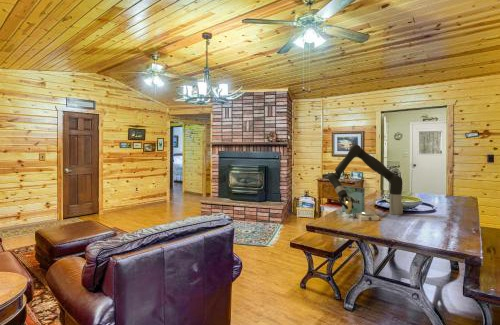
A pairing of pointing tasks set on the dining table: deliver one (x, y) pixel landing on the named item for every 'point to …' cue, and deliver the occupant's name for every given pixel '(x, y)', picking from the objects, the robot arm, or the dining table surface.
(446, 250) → the dining table surface
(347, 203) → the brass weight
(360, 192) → the gum box
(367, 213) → the scale pan
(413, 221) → the dining table surface
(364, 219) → the base
